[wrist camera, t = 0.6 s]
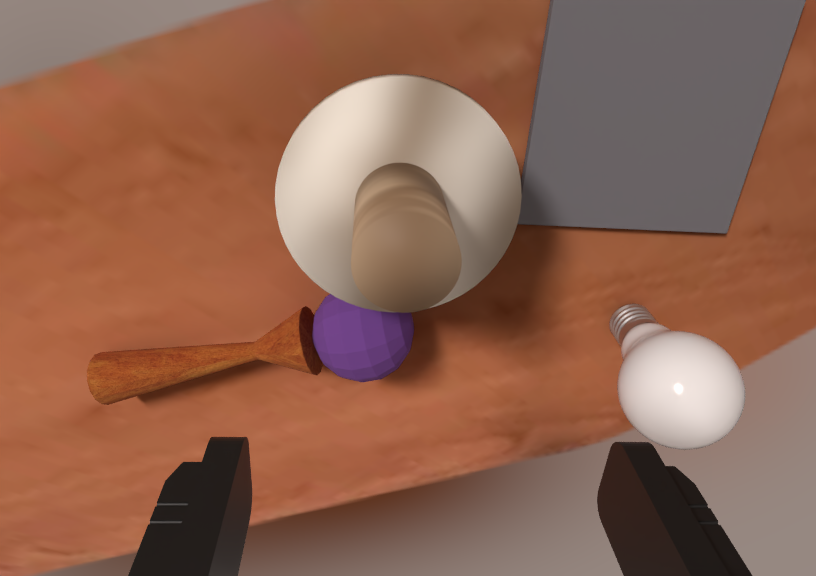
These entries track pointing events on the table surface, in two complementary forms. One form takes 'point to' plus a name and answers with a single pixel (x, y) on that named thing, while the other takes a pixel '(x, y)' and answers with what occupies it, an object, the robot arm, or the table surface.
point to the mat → (651, 110)
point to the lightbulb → (675, 382)
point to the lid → (398, 193)
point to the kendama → (267, 352)
